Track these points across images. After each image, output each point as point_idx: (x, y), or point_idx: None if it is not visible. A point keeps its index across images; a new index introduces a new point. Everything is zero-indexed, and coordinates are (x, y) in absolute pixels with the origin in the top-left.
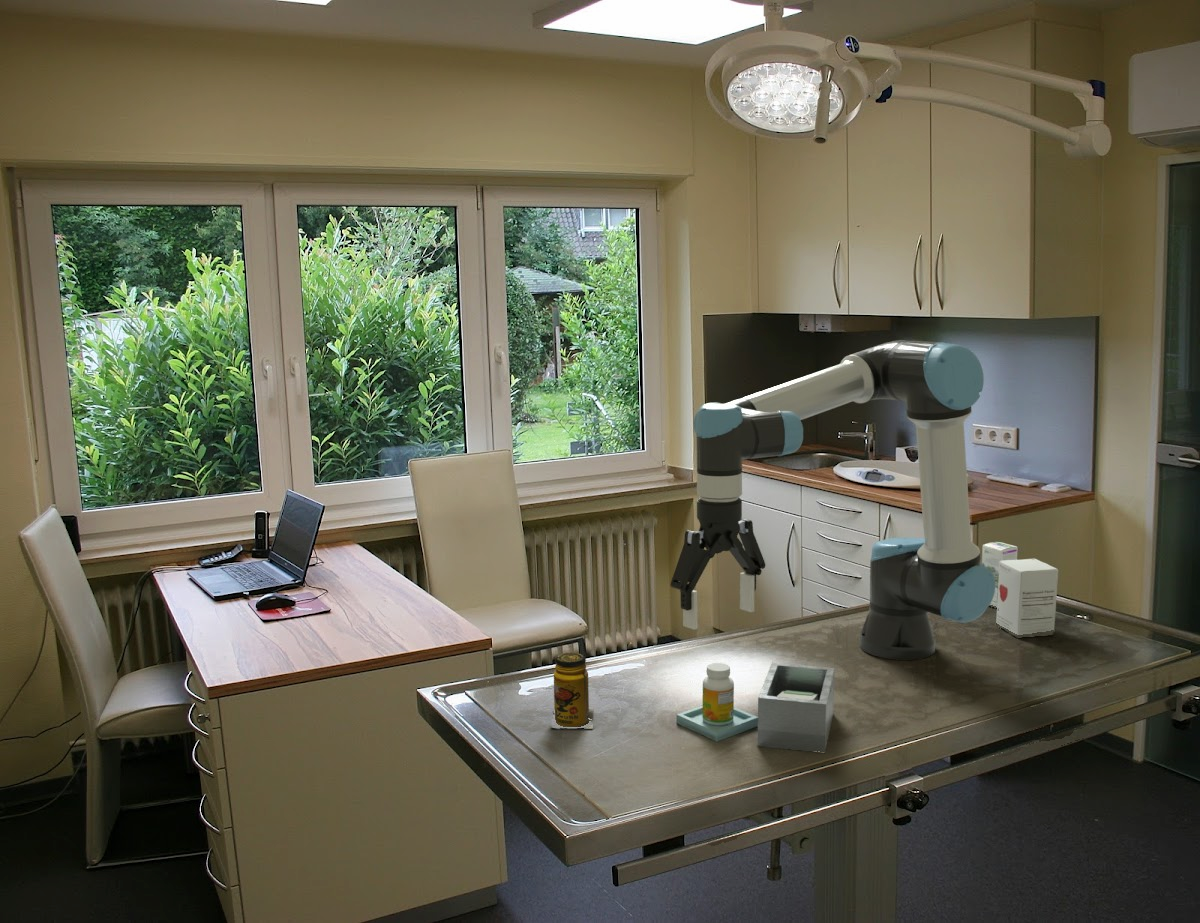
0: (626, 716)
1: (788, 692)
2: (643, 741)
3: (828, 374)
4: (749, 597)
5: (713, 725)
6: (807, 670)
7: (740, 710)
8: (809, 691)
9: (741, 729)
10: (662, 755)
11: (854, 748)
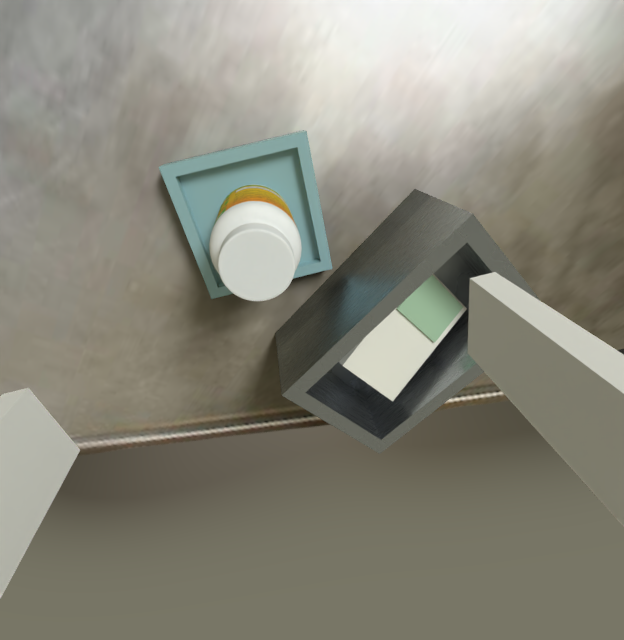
0: (26, 38)
1: (405, 312)
2: (48, 224)
3: None
4: (521, 396)
5: None
6: None
7: (319, 220)
8: (476, 271)
9: None
10: (78, 301)
11: None
